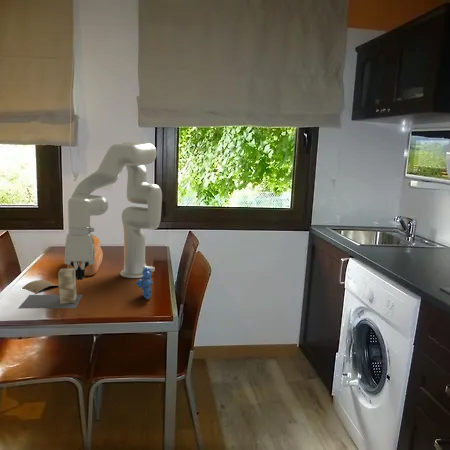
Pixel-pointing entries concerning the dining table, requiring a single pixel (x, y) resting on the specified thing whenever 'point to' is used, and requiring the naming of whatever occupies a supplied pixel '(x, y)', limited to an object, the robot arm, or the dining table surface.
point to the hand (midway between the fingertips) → (80, 278)
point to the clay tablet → (38, 285)
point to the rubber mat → (48, 302)
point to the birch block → (67, 285)
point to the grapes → (146, 283)
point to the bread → (98, 259)
